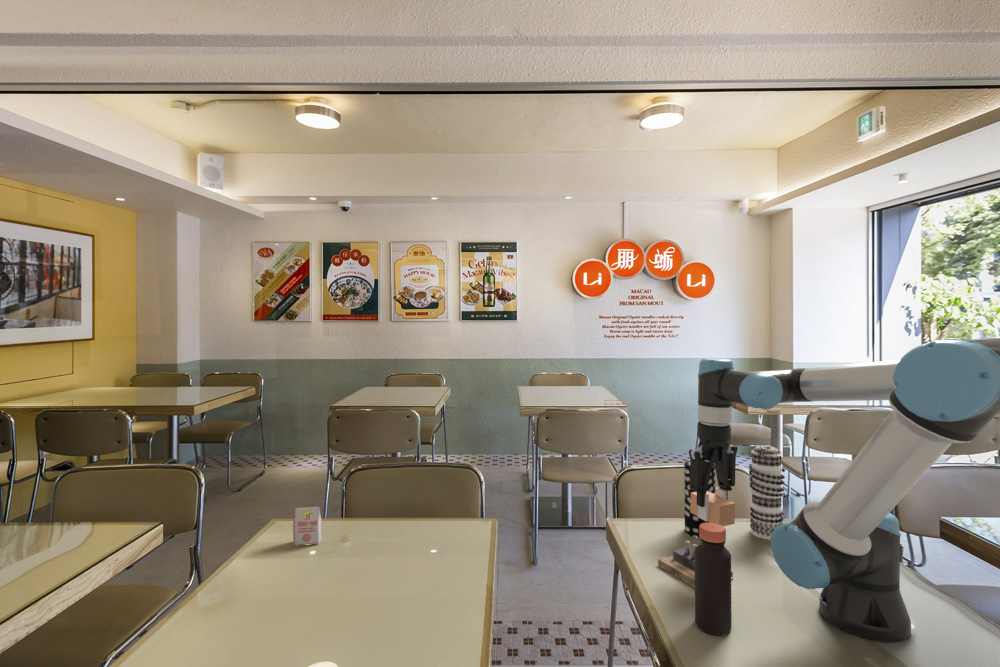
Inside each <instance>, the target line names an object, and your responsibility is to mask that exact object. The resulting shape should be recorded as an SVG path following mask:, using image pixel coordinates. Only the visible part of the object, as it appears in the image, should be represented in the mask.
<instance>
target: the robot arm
mask: <svg viewBox="0 0 1000 667" xmlns="http://www.w3.org/2000/svg"><path fill="white" fill-rule="evenodd" d="M698 364H699V365H698V372H697V377H698V380H697V381H698V383H697V385H698V386H697V388H698V393H697V394H698V396H697V403H698V404H697V420H698V422H697V423H696V424H697V426H696V427H697V428H696V436H697V437H698V440H699V442H698V445H697V447H696V448H695V449H689V450H688V455H689V456H688V457H689V459H690V460H689V461H690V489H691V490H693V491H695V492H697V505H698V517H699V518H701V519H703V520H705V521H709V494H708V493H707V488H708V483H709V479H710V474H711V469H712V467H713V466H714V465H715V476H716V481H717V484H718V485H717V486H718V487H715V495H717V496H720V497H722V498H724V499H727V500H729V499H728V498H729V497H728V494H729V492H731V491H732V490H733V487H735V485H736V464H737V463H736V458H737V453H738V449H739V448H738V446H735V445H733V444H730V443H729V441H730V440H731V438H732V425H731V423H732V418H733V417H732V413H733V411H732V410H733V408H732V407H733V403H735V404H738V405H743V406H748V407H750V408H752V409H763V410H771V409H773V408H775V406H777V405H778V404H783V403H784V404H785V403H807V402H809V403H811V402H852V401H853V402H854V401H855V402H857V401H859V402H860V401H863V402H864V401H888V402H889V404H890V406H891V411H890V413H889V414H888V415H887V416H886V418H885V419H884V420H883V422H881V424H880V425H879V426H878V428H877V429H876V430H875V432H874V433H873V434H872V435H871V437H870V438H869V439H868V441H867V442H866V443H865V444H864V446H863V447H862V448H861V450H859V452H858V454H856V456H855V457H854V459H852V461H851V462H850V463H849V465H848V466H847V468H846V469H845V470H844V471H843V472H842V473H841V475H840V477H838V479H837V480H836V481H835V483H833V485H832V487H830V489H829V490H828V492H827V493H826V494H825V496H823V498H822V499H821V500H812V501H809V502H808V503H807V504H805V506H804V507H803V508H802V509H801V510H800V511H799V513H798V514H797V515H796V517H795V518H794V519H793V520H792V521H791V522H784V523H783V522H782V523H783V524H781V525H780V526H778V527H776V528H775V529H774V530H773V532H772V535H771V540H770V549H771V552H772V556H773V558H774V560H775V562H776V564H777V566H778V568H779V569H780V571H781V572H782V573H783V574H784V575H785V577H786V578H787V579H788V580H790V582H792V583H794V584H795V585H797V586H798V587H800V588H801V587H802V588H803V589H806V590H815V589H816V590H817V589H822V590H821V593H820V596H819V603H818V604H819V607H818V608H819V611H820V614H821V615H822V616H823V618H824V619H826V621H828V622H829V623H831V624H832V625H834V626H835V627H836V628H838V629H841V630H842V631H845V632H847V633H850V634H852V635H853V636H857V637H861V638H864V639H867V640H871V641H872V640H873V641H877V642H886V643H896V642H897V643H898V642H904V641H905V640H908V639H909V638H910V637H911V635H912V622H911V618H910V615H909V613H908V609H907V606H906V604H905V601H904V598H903V596H902V593H901V588H900V587H901V586H900V585H901V584H900V580H901V579H900V576H901V572H900V571H901V570H900V568H901V565H900V564H901V537H902V534H901V533H900V532H901V531H900V521H899V519H898V517H896V516H895V515H894V514H892V513H891V512H892V511H893V510H894V508H895V507H896V506H897V505H898V504H900V502H901V501H902V499H903V498H904V497H905V496H906V495H907V494H908V493H909V492H910V491H911V490H912V488H914V486H915V485H916V484H917V483H918V482H920V480H921V478H922V477H924V476H925V474H926V473H927V472H928V471H929V470H930V469H931V468H932V466H933V465H934V464H935V463H936V462H937V461H938V460H939V459H940V457H942V455H943V454H945V452H946V451H947V450H948V449H949V447H951V445H952V444H968V443H971V442H972V441H973V440H974V439H975V438H976V437H978V435H979V434H980V433H981V432H982V431H983V430H984V429H985V428H986V426H988V425H989V423H990V422H992V420H993V419H994V418H995V417H996V416H998V415H999V414H1000V337H999V338H998V337H990V338H989V337H987V338H973V339H971V338H970V339H966V338H958V337H957V338H956V337H953V338H943V339H937V340H934V341H930V342H926V343H923V344H920V345H918V346H915V347H914V348H913V349H910V350H909V351H908V352H906V353H905V354H904V355H903V356H902V357H901V358H900V359H893V360H892V359H891V360H881V361H879V360H878V361H869V362H868V361H867V362H860V363H858V362H857V363H849V364H839V365H837V364H836V365H823V366H815V367H804V368H803V367H801V368H791V369H790V368H789V369H778V370H776V369H775V370H759V371H758V370H757V371H747V370H738V369H734V368H735V367H734V363H733V361H732V359H728V358H722V357H721V358H719V357H706V358H702V359H701V360H700V361H699V363H698ZM701 487H702V488H701Z"/></svg>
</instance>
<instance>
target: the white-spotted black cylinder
mask: <svg viewBox="0 0 1000 667" xmlns="http://www.w3.org/2000/svg"><path fill="white" fill-rule="evenodd" d="M683 465H684V469H683V470H684V472H683V473H684V474H683V476H684V479H683V480H684V481H683V482H684V488H683V489H684V494H683V495H684V533H685V532H686V533H687V534H688V535H687V534H686V533H685V534H686V535H687V536H689V535H690V537H691V536H692V538H695V539H699V538H700V536H699V525H700V524H702V523H710V522H708V521H705V520H703V519H701V518H699V517H698V516H696V515H694V514H692V513H691V512H690V502H691V493H692V492H695V491H693V490H691V489H690V460H687V461H685V462H684V463H683ZM701 488H702V487H701ZM715 489H716V469H715V464H714V466H713V467H712V469H711V474H710V479H709V483H708V488H707V491H709V492H711V493H713V494H715ZM696 537H697V538H696Z"/></svg>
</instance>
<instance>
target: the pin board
mask: <svg viewBox="0 0 1000 667" xmlns="http://www.w3.org/2000/svg"><path fill="white" fill-rule="evenodd" d="M696 546H698V545H697V544H695V543H691V541H689V540H685V541H684V547H683V548H679V549H675V550H673V551H672V555H669V556H665V557H661V558H658V559H657V562H658V563H657V565H658V566H659V565H660V566H659V567H661V566H662V567H663V569H664V568H665V569H664V570H666V569H667V570H666V571H668V570H669V571H670V572H669V571H668V572H669V573H671V572H672V574H673V573H674V574H676V575H677V576H676V575H675V576H676V577H678V576H679V577H680V579H681V578H682V579H681V580H683V579H684V580H685V581H684V580H683V581H684V582H686V581H687V582H686V583H688V582H689V583H690V584H689V583H688V584H689V585H691V584H692V585H691V586H693V585H694V586H695V565H694V551H695V548H696ZM662 567H661V568H662ZM674 574H673V575H674ZM733 576H734V572H733V571H732V570H731V577H733ZM679 577H678V578H679ZM733 578H734V577H733ZM694 586H693V587H694Z"/></svg>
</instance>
